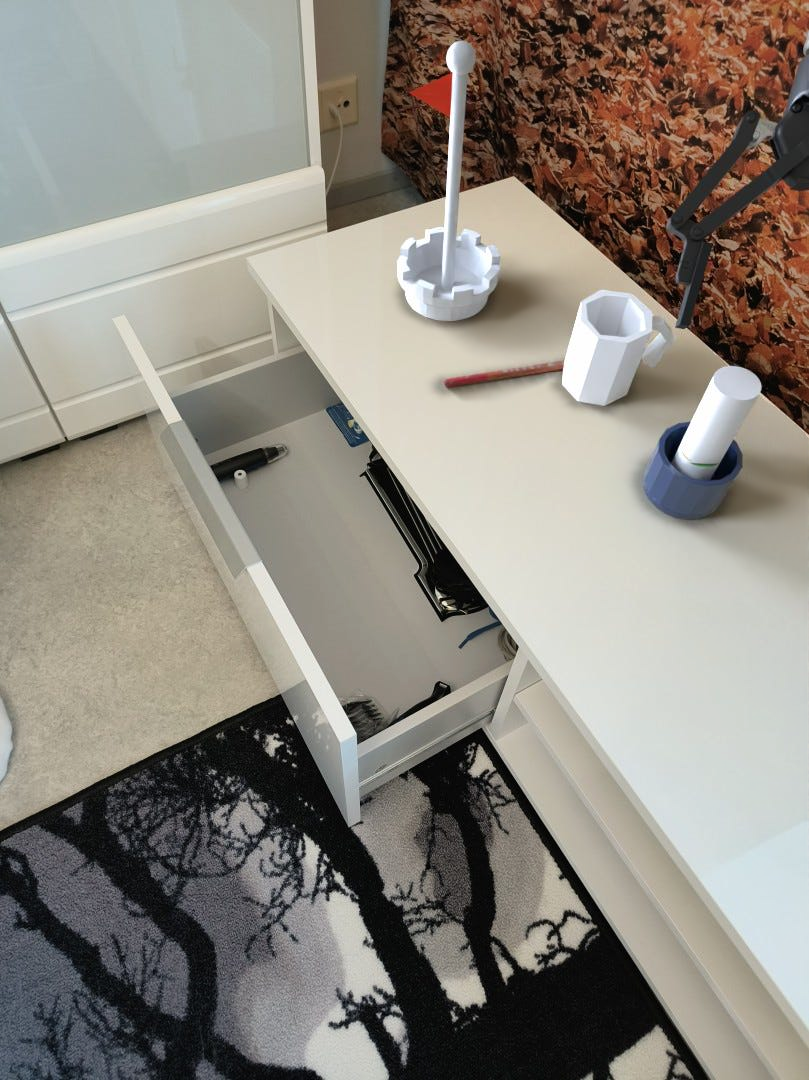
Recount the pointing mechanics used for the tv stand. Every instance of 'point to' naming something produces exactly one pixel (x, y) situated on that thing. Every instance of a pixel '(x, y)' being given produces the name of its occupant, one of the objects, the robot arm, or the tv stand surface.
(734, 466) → the cup
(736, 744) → the tv stand surface
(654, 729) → the tv stand surface
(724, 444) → the tube
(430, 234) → the flag stand
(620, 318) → the mug
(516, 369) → the pencil
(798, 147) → the robot arm
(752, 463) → the tv stand surface
